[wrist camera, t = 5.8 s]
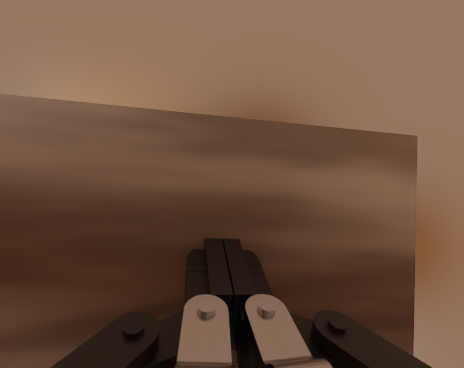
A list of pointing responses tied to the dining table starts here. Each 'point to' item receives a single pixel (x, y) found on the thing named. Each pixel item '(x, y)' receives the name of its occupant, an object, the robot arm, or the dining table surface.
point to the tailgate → (193, 218)
